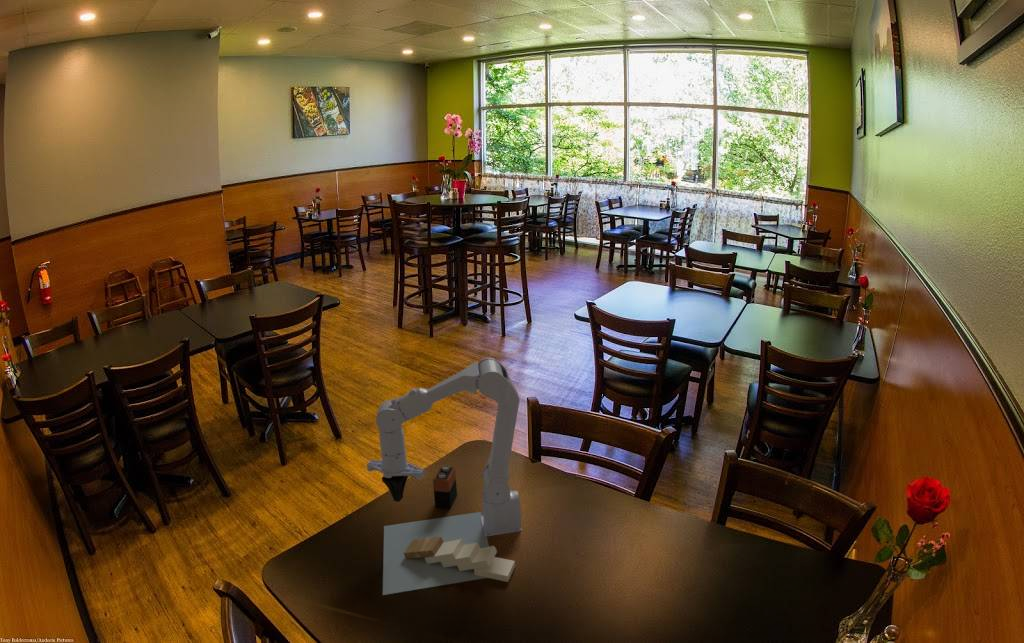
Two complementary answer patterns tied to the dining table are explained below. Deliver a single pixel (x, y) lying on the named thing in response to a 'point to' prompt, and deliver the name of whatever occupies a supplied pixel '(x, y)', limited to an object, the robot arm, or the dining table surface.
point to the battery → (445, 487)
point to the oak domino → (423, 547)
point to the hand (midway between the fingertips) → (398, 499)
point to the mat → (416, 570)
